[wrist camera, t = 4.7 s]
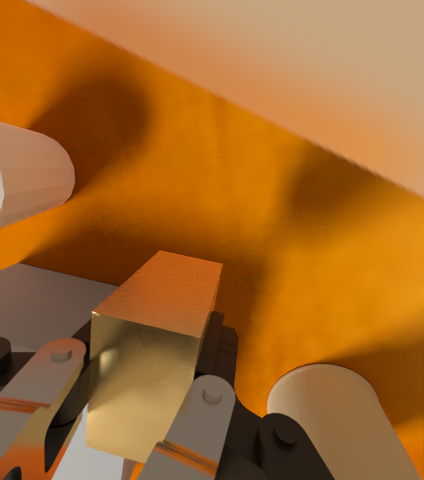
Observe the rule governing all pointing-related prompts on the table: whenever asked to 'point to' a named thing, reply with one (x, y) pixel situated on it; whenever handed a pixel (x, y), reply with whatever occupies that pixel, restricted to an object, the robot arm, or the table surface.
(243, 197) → the table surface
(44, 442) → the robot arm
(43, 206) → the white cup
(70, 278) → the coin box
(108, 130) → the table surface
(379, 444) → the can
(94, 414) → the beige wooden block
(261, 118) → the table surface
